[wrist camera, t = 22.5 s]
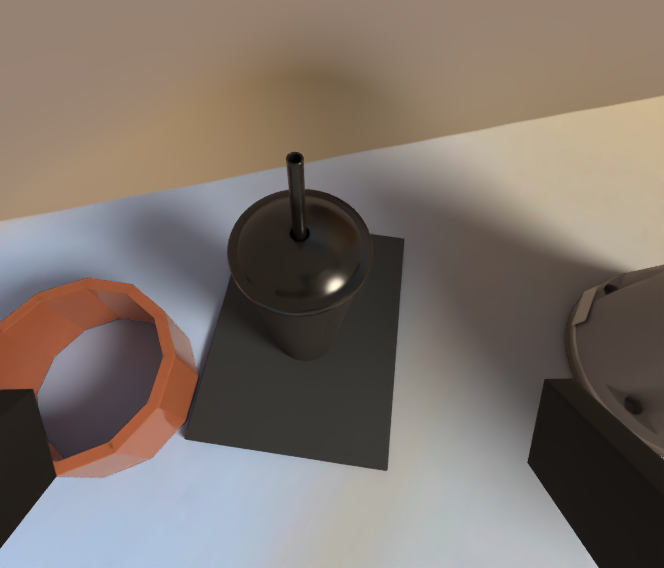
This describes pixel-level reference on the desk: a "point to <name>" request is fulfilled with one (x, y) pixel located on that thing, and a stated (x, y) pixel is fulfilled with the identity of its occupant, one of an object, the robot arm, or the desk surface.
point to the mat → (306, 378)
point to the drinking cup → (300, 262)
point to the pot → (67, 324)
